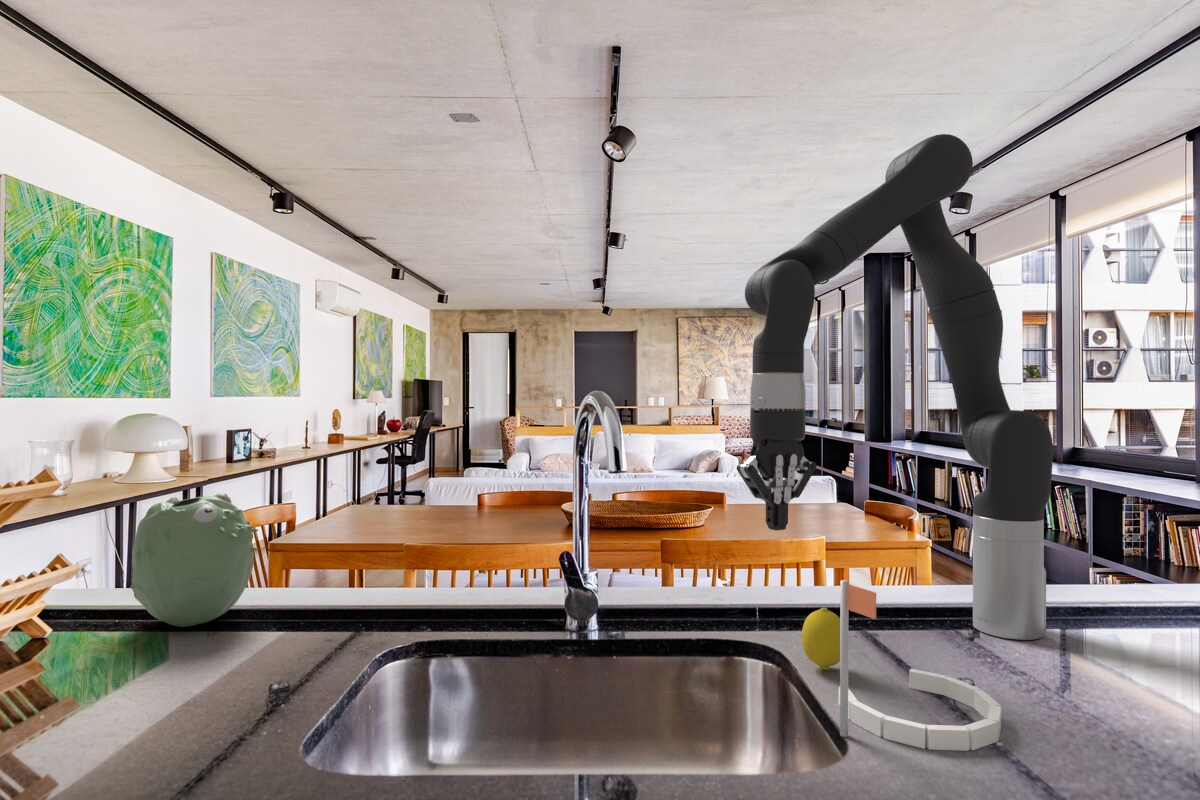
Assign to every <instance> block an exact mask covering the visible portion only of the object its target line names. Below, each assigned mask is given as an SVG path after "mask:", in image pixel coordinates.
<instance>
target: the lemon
mask: <svg viewBox="0 0 1200 800" xmlns="http://www.w3.org/2000/svg"><path fill="white" fill-rule="evenodd" d="M801 645H802V649H803V651H804V654H805V656H806V657H807V658H808V659H809V660H810V661H811V662H812V663H813V664H815V665H817V667H819V668H820V669H821V670H823V671H827V670H828V669H829V668H830V667H831V666H832V667H833V666H835V665H837V664H839V663H840V616H838V615H837V614H836V613H835V612H833V611H831V610H829V609H828V608H827V607H821V608H820V609H817V610H815V611H813V612H811V613H810V614H809V615H807V617H806V618H805V620H804V623H803V626H802V629H801Z"/></svg>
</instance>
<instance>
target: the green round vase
mask: <svg viewBox="0 0 1200 800" xmlns="http://www.w3.org/2000/svg"><path fill="white" fill-rule="evenodd" d="M258 531H259V530H258V529H257V528H254V527H253V525H251V523H250V521H249V520H247V519H246V518H245V516H244V514H243V509H239V508H238V507H237V506H236V505H234V504H233V503H232V499H231V498H230V496H229V495H228V494H226V493H216V494H214V495H213V496H197V497H193V498H187V499H181V500H180V499H179V498H177V497H175V496H173V497H170V498H169V499H168V500H165V501H162V502H158V503H157V502H156V503H155V504H153V505H151V506H150V507H149V509H148V510H147V511H146V513H145V516H143V518H142V519H141V520H140V521H139V523H138V526H137V529H136V532H135V538H134V541H133V545H132V549H131V551H132V552H131V556H132V557H131V565H132V568H133V571H132V572H133V573H132V580H131V581H132V584H131V585H130V587H129V588H130V589H131V590H132V592H133V597H134V598H135V599H136V601H137V602H138V603H140V604H141V605H142V606H143V607H144V609H145V610H146V611H147V612H148V613H149V614H150V615H151V616H152V617H154V618H155V619H157V620H159V621H161V622H165V623H166V624H168V625H171V626H175V627H178V628H179V627H180V628H187V627H193V626H197V625H200V624H206V623H209V622H211V621H213V620H215V619H217V618H219V617H220V616H222V615H223V614H225V613H226V612H228V611H229V610H230V609H231V608H232V607H234V606H235V604H237V602H238V601H239V599H240V598H241V597H242V594H243V593H244V592H245V589H246V588H247V586H248V583H249V580H250V577H251V574H252V572H253V568H254V565H255V564H254V562H255V557H254V556H255V555H254V552H255V551H258V550H259V548H258V547H255V546H253V540H254V533H256V532H258Z"/></svg>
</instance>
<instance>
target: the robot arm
mask: <svg viewBox="0 0 1200 800" xmlns="http://www.w3.org/2000/svg"><path fill="white" fill-rule="evenodd" d="M973 161H974V160H973V155H972V152H971V151H970V148H969V146H968V145H967V144H966V142H965V141H964V140H962V139H961V138H959V136H956V135H953V134H947V133H941V134H935V135H932V136H930V137H929V136H928V137H926V138H925V139H923V140H922V141H920V142H917V143H916V144H914V145H913V146H912V147H910V148H907V150H905V151H904V152H902V153H900V154H899V155H898V156H896V157H894V158H893V159H892V161H891V162H889V164H888V167H887V169H886V172H885V176H884V178H885V179H884V180H885V182H884V183H882V184H881V185H880V186H878V187H877V188H875V189H873V191H871V192H869V193H867V194H866V195H865V196H863V197H862V198H860V199H858V200H857V201H855V202H853V203H852V204H850V205H848V206H847V207H845V208H843V209H842V210H841V211H839V212H838V213H836V214H835V215H833V216H832V217H831V218H829V219H828V220H827V221H825V222H823V224H821V225H820V226H819V227H817V228H816V229H814V230H813V231H812V232H810V233H809V234H808V235H807V236H806V237H804V239H803V240H801V241H800V242H798V243H797V244H795V245H794V246H793V247H792V248H789V249H788V250H786V251H785V252H783V253H781V254H780V255H778V256H776V257H774V258H772V259H771V260H769V261H768V262H767V263H765V264H763V265H762V266H761V267H759V268H758V269H757V270H756V271H755V272H753V274H751V276H750V277H749V278H748V280H747V282H746V285H745V289H744V299H745V302H746V305H747V306H748V308H749V309H750V310H751V311H752V312H754V313H755V314H757V315H760V316H764V317H765V322H764V327H763V329H762V330H761V331H760V332H759V333H758V334H757V335H755V337H754V339H753V344H752V372H751V373H752V376H751V384H750V406H749V407H750V409H749V410H750V411H749V413H750V415H749V416H750V419H749V423H750V425H749V432H750V433H749V436H750V438H751V440H752V446H751V449H750V451H749V456H750V457H749V458H748V459H747V460H746V461H744V463H742V462H741V463H738V464H737V465H736V471H737V473H738V474H739V476H740V477H741V478H742V480H743V482H744V483H745V485H746V487H747V488H748V489H749V491H750V493H751V494H752V496H753V497H754V498H755V499H760V500H762V501H764V503H765V524H766V526H767V527H768V529H769V530H772V531H777V532H778V531H784V530H786V529H787V526H788V522H789V503H790V502H791V500H793V499H795V498H796V499H797V498H800V497H801V495H802V493H803V491H804V490H805V488H806V487H807V484H808V482H809V481H810V479H811V478H812V476H813V474H814V472H815V471H816V469H817V463H816V462H815V461H809V459H807V458H806V457H805V456H804V454H805V451H804V448H803V444H802V441H803V440H805V437H806V405H807V404H806V401H807V400H806V398H807V397H806V392H807V391H806V382H805V374H804V373H805V346H804V345H805V341H806V337H807V334H808V330H809V326H810V322H811V318H812V314H813V309H814V303H815V296H816V295H815V293H816V288H815V286H816V285H819V284H821V283H823V282H826V281H827V282H828V281H829V280H830V279H833V278H834V277H836V276H837V275H838V274H840V273H841V272H843V271H844V270H845V269H846V268H847V267H849V266H850V265H851V264H852V263H854V262H855V261H857V260H858V259H859V258H860V257H861V256H863V255H864V254H865V253H866V252H868V250H869V251H870V249H871V248H872V247H874V246H875V245H876V244H877V243H879V242H880V241H881V240H882V239H884V238H885V237H886V236H887V235H889V234H890V233H891V232H893V230H895V229H896V228H897V227H899V226H900V227H901V230H902V232H903V234H904V237H905V240H906V242H907V245H908V246H909V250H910V252H911V255H912V259H913V262H914V264H915V268H916V271H917V273H918V277H919V280H920V283H921V285H922V288H923V289H922V290H923V292H924V296H925V299H926V303H927V304H926V305H927V308H928V311H929V315H930V319H931V321H932V325H933V329H934V331H935V333H936V336H937V339H938V342H939V346H940V349H941V351H942V352H941V353H942V355H943V359H944V363H945V366H946V369H947V373H948V375H949V379H950V381H951V385H952V389H953V394H954V398H955V399H954V400H955V404H956V409H957V416H958V421H959V426H960V432H961V437H962V441H963V445H964V447H965V450H966V452H967V454H968V455H969V456H970V458H971V459H972V461H975V463H977V464H978V465H979V466H982V467H984V468H987V469H988V474H987V485H986V486H985V488H984V489H983V491H982V492H980V493H977V494H976V495H975V496H974V497H973V500H972V501H973V503H972V533H973V534H972V626H973V627H974V629H976V630H977V631H979V632H982V633H984V634H986V635H990V636H993V637H999V638H1003V639H1009V640H1023V641H1029V640H1030V641H1032V640H1038V639H1041V638H1043V637H1044V633H1045V632H1046V631H1047V570H1046V568H1045V566H1044V565H1045V564H1044V563H1045V562H1044V561H1045V559H1044V557H1045V552H1044V551H1045V550H1044V549H1045V547H1044V546H1045V543H1044V540H1045V539H1044V538H1045V536H1044V535H1045V534H1044V532H1045V531H1044V530H1045V529H1044V528H1045V527H1044V524H1045V523H1044V522H1045V520H1044V519H1045V508H1046V507H1047V505H1048V502H1049V500H1050V497H1051V491H1052V477H1053V476H1052V475H1053V459H1054V448H1053V447H1054V444H1053V437H1052V436H1053V435H1052V432H1051V429H1050V428H1049V426H1048V423H1046V421H1045V420H1044V419H1043V417H1041V416H1039V415H1037V414H1036V413H1034V412H1031V411H1027V410H1018V409H1017V410H1016V409H1015V410H1014V409H1013V410H1012V409H1011V408H1010V406H1009V403H1008V401H1007V397H1006V395H1005V392H1004V388H1003V386H1002V382H1001V377H1000V376H1001V375H1000V358H1001V357H1000V356H1001V350H1002V345H1003V344H1002V343H1003V334H1004V320H1003V313H1002V309H1001V307H1000V303H999V301H998V297H997V293H996V289H995V287H994V283H993V280H992V279H991V277H990V275H989V273H988V272H987V270H985V268H984V267H983V266H982V265H981V264H980V263H979V262H978V260H976V259H975V258H974V257H973V256H972V255H971V254H970V253H969V252H968V251H967V250H966V249H965V248H964V247H963V246H962V245H961V244H960V243H959V242H958V241H957V240H956V238H955V236H954V235H953V234H952V232H951V230H950V228H949V226H948V223H947V220H946V218H945V214H944V212H943V208H942V203H941V201H943V200H945V199H947V198H949V197H951V196H953V195H955V194H956V193H957V192H959V191H960V190H961V189H962V188H963V187H964V186H965V185H966V184H967V183H968V182H969V179H970V178H971V175H972V171H973V167H974V162H973Z"/></svg>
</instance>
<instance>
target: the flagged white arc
mask: <svg viewBox="0 0 1200 800" xmlns="http://www.w3.org/2000/svg"><path fill="white" fill-rule="evenodd" d="M839 581H840V584H839V585H840V590H839V591H840V593H839V594H840V601H839V602H840V607H839V609H840V610H839V611H840V614H839V615H840V616H839V618H840V662H839V668H840V669H839V675H840V676H839V678H840V679H839V686H838V706H839V736H840V737H843V738H848V736H849V721H850V722H851V723H853V724H855V725H856V726H859V727H860V728H862V729H864V730H866V731H867V732H870V733H872V734H873V735H875V736H877V737H879V738H881V737H883V738H882V739H885V740H887V741H888V740H889V741H893V742H895V743H896V742H897V743H900V744H904V745H908V746H913V747H915V748H916V747H917V748H920V749H924V750H925V749H926V748H927V749H928V750H930V751H931V750H933V751H963V752H965V751H968V752H969V751H970V750H971V751H974V750H978V749H980V748H983V747H986V746H990V745H991V744H995V743H997V742H998V741H999V740H1000V734H1001V729H1002V706H1001V704H999V703H998V702H997V701H996V700H995V699H994V698H992V697H991V696H990V695H989V694H988V693H987V692H985V691H984V689H983V690H982V689H981V688H979V687H977V686H974V685H971V684H970V683H967V682H964V681H961V680H959V679H956V678H954V677H952V676H947V675H944V674H939V673H936V672H929V671H924V670H920V669H916V668H915V669H914V668H910V669H909V671H908V672H909V674H908V678H909V679H908V688H909V689H913V690H918V691H923V692H927V693H933V694H937V695H942V696H945V697H946V698H947V697H948V698H950V699H953V700H955V701H957V702H959V703H961V704H964V705H966V706H969V707H971V708H973V709H974V710H975V711H977V712H978V713H979V715H981V716H982V717H983V719H980V720H978V721H975V722H972V723H969V724H966V725H965V724H964V725H952V724H951V725H950V724H949V725H946V724H944V725H942V724H941V725H940V724H925V723H920V722H915V721H911V720H907V719H902V718H898V717H895V716H894V717H893V716H891V715H887V714H884V713H882V712H880V711H878V710H876V709H874V708H872V707H871V706H868V705H866V704H864V703H862V702H861V701H859V700H858V699H857V698H856V696H855V695H854V694H853V692H852V691H851V690H850V688H849V622H850V621H849V615H850V613H849V611H850V612H853V613H856V614H859V615H863V616H865V617H868V618H871V619H873V620H876V619H877V592H876V591H872V590H870V589H867V588H862V587H860V586H857V585H853V584H851V583H849V580H846V579H841V580H839Z"/></svg>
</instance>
